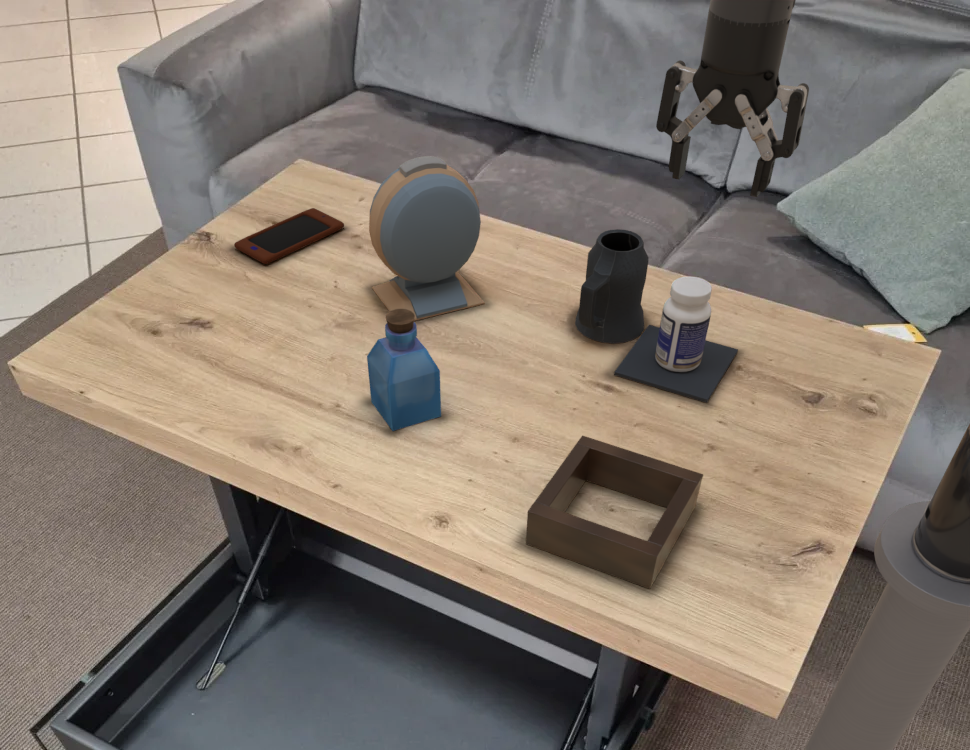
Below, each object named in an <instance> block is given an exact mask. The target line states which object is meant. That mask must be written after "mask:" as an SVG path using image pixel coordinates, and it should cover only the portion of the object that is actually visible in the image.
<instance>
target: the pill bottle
mask: <svg viewBox="0 0 970 750" xmlns="http://www.w3.org/2000/svg"><path fill="white" fill-rule="evenodd" d="M712 291H713V286H712V284H711V283H710V282H709V281H708V280H706V279H704V278H702V277H698V276H692V275H691V276H690V275H689V276H688V275H686V276H680V277H678V278H676V279H674V280H673V281H672V283H671V286H670V290H669V295H670V296H669V297H668V298H667V299H666V300H665V302H664V304H663V306H662V311H661V318H660V323H659V327H660V329H659V335H658V341H657V347H656V354H655V357H656V361H657V362H658V364H659V365H660V366H662V367H663V368H665V369H667V370H670V371H674V372H687V371H691V370H693V369H695V368H696V367H698V366H699V364H700V362H701V359H702V355H703V350H704V345H705V341H707V336H708V330H709V326H710V321H711V317H712V306H711V304H710V302H709V301H710V300H711V297H712Z"/></svg>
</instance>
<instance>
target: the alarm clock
mask: <svg viewBox="0 0 970 750" xmlns="http://www.w3.org/2000/svg"><path fill="white" fill-rule="evenodd" d="M398 166H399V167H398V168H397V169H395V170H394V171H392V172H390V174H388V175H387V176H386V178H385V179H384V180H383V181H382V182H381V184H380V185H379V187H378V189H377V190H376V192H375V194H374V196H373V198H372V202H371V205H370V209H369V220H368V221H369V222H368V227H369V228H368V232H369V237H370V242H371V246H372V247H373V249H374V251H375V253H376V255H377V256H378V258H379V260H381V262H382V263H383V264H384V266H385V267H387V269H388V270H389V271H390V272H391V273H393V275H395V276H394V277H392V278H391V279H389V280H388V281H386V282H383V283H380V284H376V285H373V286H371V289H372V290H373V292H374V293H375V294H376V296H377V297H378V299H379V300H380V301H381V302H382V304H383V305H384V307H385V308H386V309H387V310H388V312H389V311H391V310H394V309H407V310H410V311H412V312H413V313H414V315H415V318H414V322H415V321H419V320H424V319H428V318H432V317H436V316H441V315H443V314H449V313H453V312H457V311H461V310H464V309H465V310H466V309H470V308H473V307H477V306H482V305H485V301H484V300H483V298H482V297H481V296H480V295H479V294H478V293H477V292H476V290H475V289H473V287H472V286H471V285H470V284H469V283H468V281H467V280H466V279H465V278H464V277H463V276H462V275H461V274H460V273H459V271H460V269H461V268H462V267H464V265H466V263H467V262H468V261H469V259H470V258H471V256H472V254H473V253H474V252H475V249H476V247H477V243H478V241H479V237H480V232H481V226H482V225H481V224H482V221H481V212H480V211H481V210H480V204H479V199H478V197H477V195H476V193H475V190H474V188H473V187H472V185H470V183H469V182H468V181H467V179H466V178H465V177H464V176H463V175H461V173H460V172H458V171H457V170H456V169H454V168H453V167H451V166H450V165H448V164H447V162H445V161H444V159H443V158H441V157H439V156H433V155H424V156H418V157H417V156H416V157H413V158H411V159H409V160H406V161H405V162H402V163H401V164H400V165H398Z"/></svg>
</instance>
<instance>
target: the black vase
mask: <svg viewBox="0 0 970 750" xmlns="http://www.w3.org/2000/svg"><path fill="white" fill-rule="evenodd" d="M649 258H650V257H649V255H648V253H647V252H646V249H645V242H644V240H643V238H642V236H641V235H639V234H638V233H636V232H634V231H632V230H628V229H622V228H621V229H620V228H614V229H609V230H605V231H603V232H601V233H600V234H599V235H598V236H597V238H596V240H595V244H594V245H593V246H592V247H591V249H590V250H588V252H587V261H586V268H585V269H586V271H585V281H584V282H583V283H582V285H581V287H580V293H579V294H580V295H579V306H578V310H577V313H576V315H575V319H574V324H575V327H576V330H577V331H578V332H579V333H580V334H581V335H582V336H584V337H586V338H588V339H590V340H592V341H595V342H599V343H603V344H624V343H628V342H631V341H634V340H636V339H637V338H639V337H640V336H641V335H642V334H643V332H644V331H645V314H644V309H643V305H642V299H643V293H644V288H645V285H646V281H647V275H648V267H649V260H650V259H649Z"/></svg>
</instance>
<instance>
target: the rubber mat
mask: <svg viewBox="0 0 970 750" xmlns="http://www.w3.org/2000/svg"><path fill="white" fill-rule="evenodd" d="M659 329H660V326H657V325H653V324H648V325H647V327H646V328H644V330H643V332H642V334H641V335H640V336H639V337H638V339H637V340H636V342H635V343H634V345H632V347H631V348H630V350H629V351H628V352H627V354H626V355H625V356H624V358H623V360H622V361H621V362H620V363H619V365H618V366H617V368H615V370H614V372H613V376H616V377H619V378H622V379H625V380H629V381H633V382H635V383H639V384H642V385H646V386H649V387H651V388H652V387H653V388H655V389H659V390H662V391H666V392H669V393H673V394H676V395H678V396H682V397H684V398H685V397H686V398H689V399H692V400H696V401H699V402H702V403H706V404H708V402H709V400H710V399H711V397H712V396H713V394H714V392H715V391H716V389H717V387H718V386H719V384H720V382H721V381H722V379H723V377H724V375H725V374H726V373H727V371H728V369H729V368H730V366H731V365H732V362H733V360H735V358H736V356H737V354H738V352H739V349H738V348H735V347H731V346H727V345H724V344H722V343H721V344H720V343H717V342H713V341H710V340H706V341H705V345H704V350H703V355H702V359H701V362H700V364H699V366H698V367H696V368H695V369H693V370H691V371H687V372H674V371H670V370H667V369H665V368H663V367H662V366H660V365H659V364H658V362H657V361H656V357H655V354H656V347H657V341H658V335H659Z"/></svg>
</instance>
